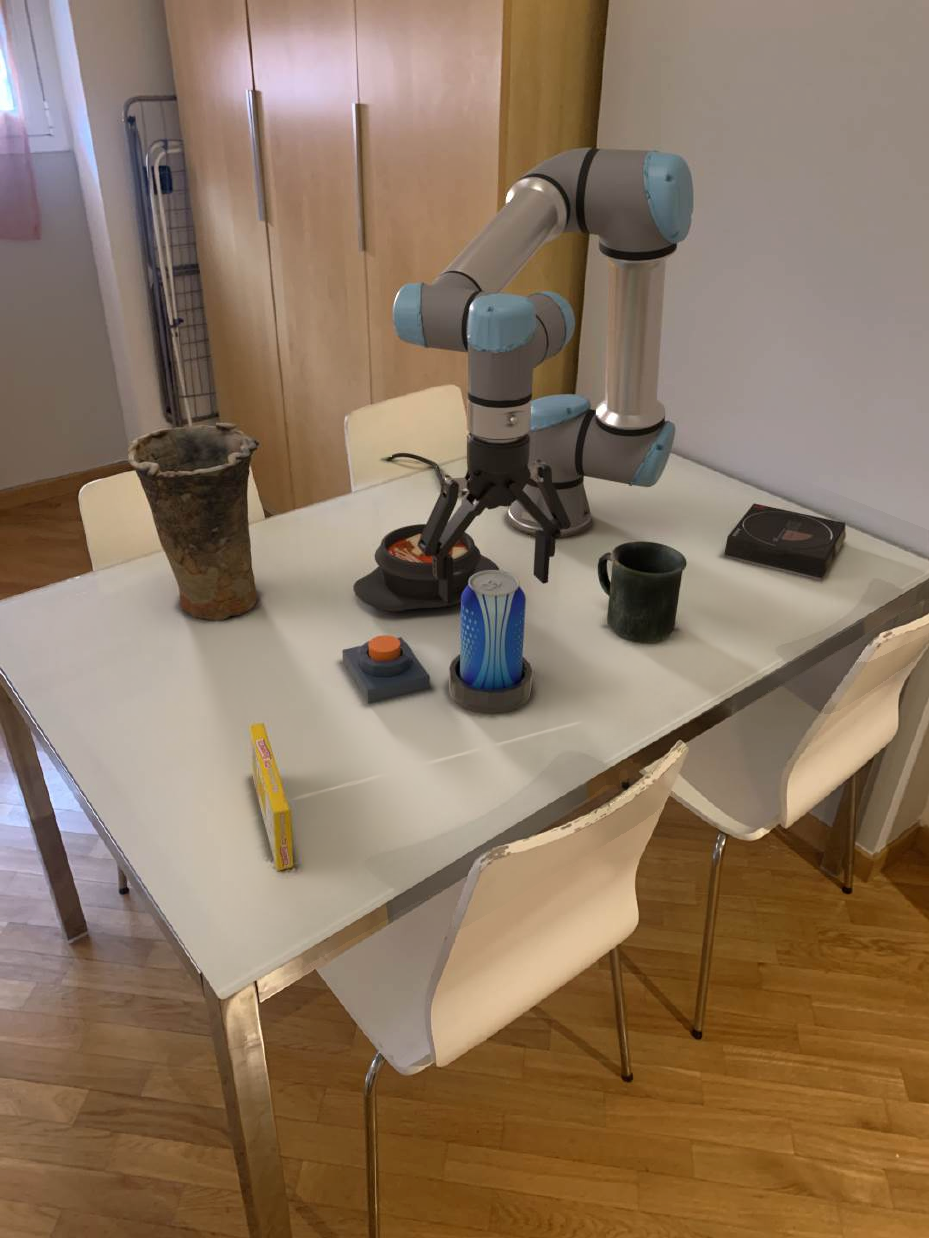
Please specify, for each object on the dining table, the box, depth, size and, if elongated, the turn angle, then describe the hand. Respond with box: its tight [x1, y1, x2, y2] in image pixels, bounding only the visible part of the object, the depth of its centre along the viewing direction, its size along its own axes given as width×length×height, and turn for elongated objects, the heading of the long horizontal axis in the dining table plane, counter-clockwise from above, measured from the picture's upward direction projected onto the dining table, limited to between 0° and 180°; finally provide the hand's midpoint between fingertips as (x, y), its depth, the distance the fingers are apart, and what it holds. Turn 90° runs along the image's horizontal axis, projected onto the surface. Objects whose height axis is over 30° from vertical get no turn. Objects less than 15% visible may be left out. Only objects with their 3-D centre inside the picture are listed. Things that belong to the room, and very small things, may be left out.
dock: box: [448, 653, 533, 715], centre depth 134 cm, size 11×11×4 cm
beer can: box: [459, 569, 527, 690], centre depth 130 cm, size 8×8×16 cm
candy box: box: [249, 722, 294, 871], centre depth 109 cm, size 16×2×8 cm, turn 20°
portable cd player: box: [723, 502, 847, 581], centre depth 172 cm, size 16×17×4 cm
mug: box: [597, 540, 688, 644], centre depth 148 cm, size 11×15×12 cm
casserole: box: [353, 523, 500, 612], centre depth 157 cm, size 25×19×8 cm
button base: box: [341, 636, 431, 704], centre depth 136 cm, size 11×9×4 cm
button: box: [368, 634, 401, 662], centre depth 135 cm, size 4×4×2 cm
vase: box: [126, 422, 260, 621], centre depth 148 cm, size 18×18×27 cm
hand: (494, 589), depth 127 cm, fingers open, 13 cm apart
